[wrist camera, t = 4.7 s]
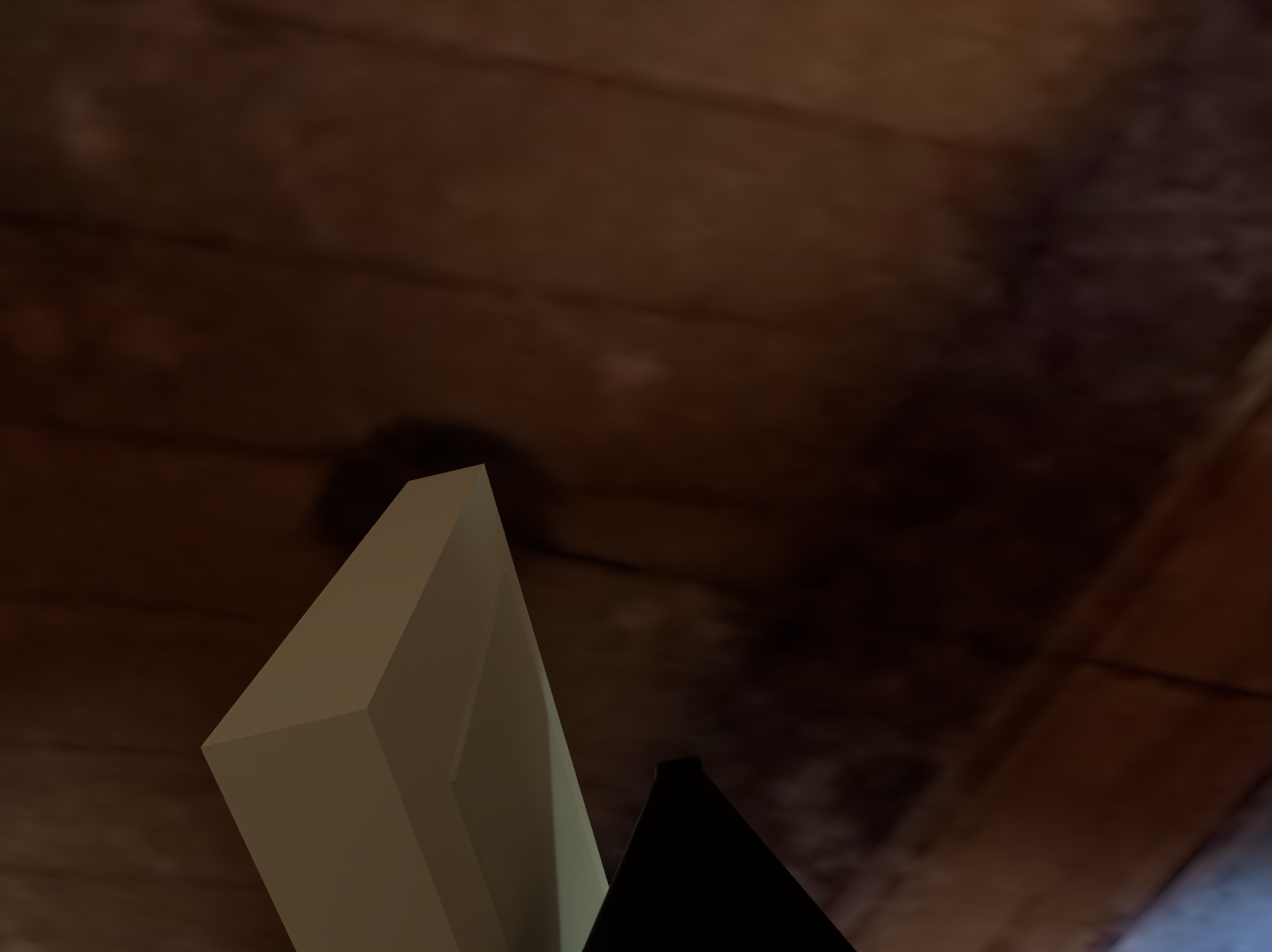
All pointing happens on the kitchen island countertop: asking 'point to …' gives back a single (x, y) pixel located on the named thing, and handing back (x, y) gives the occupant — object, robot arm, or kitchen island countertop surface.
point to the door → (414, 751)
